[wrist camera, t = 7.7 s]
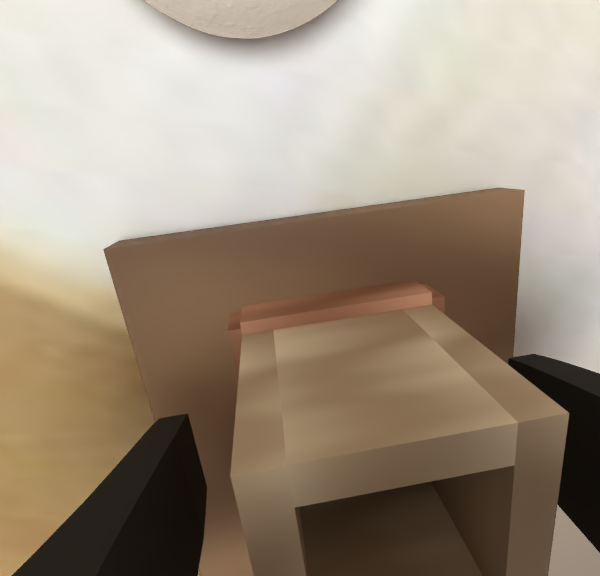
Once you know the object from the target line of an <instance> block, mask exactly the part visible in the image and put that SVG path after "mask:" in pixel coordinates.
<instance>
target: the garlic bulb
mask: <svg viewBox="0 0 600 576" xmlns="http://www.w3.org/2000/svg"><path fill="white" fill-rule="evenodd" d="M145 1H146V2H148V3H149V4H150V5H152V6H153V7H154V8H155V9H157V10H159V11H161V12H162V13H164V14H166V15H168V16H169V17H171V18H173V19H174V20H177V21H178V22H180V23H182V24H184V25H186V26H189V27H190V28H194V29H196V30H200V31H203V32H205V33H209V34H212V35H217V36H221V37H227V38H228V37H230V38H243V39H244V38H245V39H249V38H250V39H251V38H252V39H254V38H255V39H256V38H262V37H267V36H268V37H269V36H271V35H276V34H280V33H283V32H286V31H289V30H291V29H294V28H297V27H299V26H301V25H303V24H305V23H307V22H308V21H310V20H312V19H313V18H315V17H316V16H318V15H320V14H321V13H322V12H324V11H325V10H327V9H328V8H329V7H330V6H332V5H333V4H334V3H335V2H337V0H145Z"/></svg>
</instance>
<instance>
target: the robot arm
mask: <svg viewBox="0 0 600 576" xmlns="http://www.w3.org/2000/svg"><path fill="white" fill-rule="evenodd" d="M508 365H509V366H511V367H512V368H513V369H514V370H516V371H517V372H518V373H519V374H521V375H522V376H523V377H524V378H526V379H527V380H528V381H529V382H531V383H532V384H533V385H535V386H536V387H537V388H538V389H540V390H541V391H542V392H543V393H545V394H546V395H547V396H548V397H550V398H551V399H552V400H554V401H555V402H556V403H557V404H559V405H560V406H561V407H562V408H564V409H565V410H566V411H567V412H569V420H568V427H567V435H566V442H565V450H564V458H563V465H562V473H561V480H560V488H559V495H558V503H557V504H558V505H559V507H560V508H561V509H562V510H563V511H564V512H565V513H566V514H567V516H568V517H569V518H570V519H571V520H572V521H573V523H574V524H575V525H576V526H577V527H578V528H579V529H580V531H581V532H582V533H583V534H584V535H585V536H586V537H587V539H588V540H589V541H590V542H591V543H592V544H593V545H594V547H595V548H596V549H597V550H598V551H599V552H600V374H599V373H596V372H593V371H590V370H587V369H584V368H581V367H578V366H574V365H571V364H568V363H565V362H562V361H558V360H555V359H552V358H548V357H544V356H540V355H536V354H531V355H525V356H519V357H514V358H508ZM206 500H207V484H206V481H205V477H204V473H203V469H202V466H201V462H200V458H199V454H198V450H197V447H196V443H195V439H194V435H193V431H192V428H191V424H190V420H189V416H188V413H187V414H181V415H176V416H170V417H164V418H159V419H158V420H157V421H156V422H155V423H154V424H153V425H152V426H151V427H150V429H149V430H148V431H147V432H146V433H145V434H144V435H143V436H142V438H141V439H140V440H139V441H138V442H137V443H136V444H135V446H134V447H133V448H132V449H131V450H130V451H129V452H128V454H127V455H126V456H125V457H124V458H123V459H122V460H121V462H120V463H119V464H118V465H117V466H116V467H115V468H114V469H113V470H112V472H111V473H110V474H109V475H108V476H107V477H106V478H105V479H104V480H103V482H102V483H101V484H100V485H99V486H98V487H97V488H96V489H95V490H94V492H93V493H92V494H91V495H90V496H89V497H88V498H87V499H86V500H85V501H84V503H83V504H82V505H81V506H80V507H79V508H78V509H77V510H76V511H75V512H74V513H73V514H72V515H71V516H70V517H69V518H68V519H67V520H66V521H65V522H64V523H63V524H62V525H61V526H60V527H59V528H58V529H57V530H56V531H55V533H54V534H53V535H52V536H51V537H50V538H49V539H48V540H47V541H46V542H45V543H44V544H43V545H42V546H41V547H40V548H39V549H38V550H37V551H36V552H35V553H34V554H33V555H32V556H31V557H30V558H29V559H28V560H27V561H26V562H25V563H24V564H23V565H22V566H21V567H20V568H19V569H18V570H17V571H16V572H15V573H14V574H13V575H12V576H197V575H198V569H199V563H200V557H201V552H202V546H203V540H204V529H205V516H206Z"/></svg>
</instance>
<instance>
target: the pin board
mask: <svg viewBox="0 0 600 576" xmlns="http://www.w3.org/2000/svg"><path fill="white" fill-rule="evenodd" d="M524 191H525V190H518V189H507V188H494V189H487V190H480V191H473V192H466V193H459V194H451V195H444V196H437V197H430V198H423V199H416V200H409V201H401V202H394V203H387V204H380V205H373V206H366V207H358V208H351V209H344V210H337V211H330V212H323V213H316V214H308V215H301V216H294V217H287V218H280V219H273V220H265V221H258V222H251V223H244V224H237V225H230V226H223V227H215V228H208V229H201V230H194V231H187V232H180V233H172V234H165V235H158V236H151V237H144V238H137V239H130V240H122V241H118V242H116V243H114V244H112V245H111V246H109V247H107V248H105V249H103V250H104V253H105V256H106V260H107V263H108V266H109V270H110V273H111V276H112V280H113V283H114V286H115V290H116V293H117V296H118V300H119V303H120V306H121V310H122V313H123V316H124V320H125V323H126V326H127V330H128V333H129V336H130V340H131V343H132V346H133V350H134V353H135V356H136V360H137V363H138V366H139V370H140V373H141V376H142V380H143V383H144V386H145V390H146V393H147V396H148V400H149V403H150V406H151V410H152V413H153V416H154V420H155V422H156V421H157V420H158V419H159V418H164V417H170V416H176V415H181V414H187V413H188V416H189V420H190V424H191V428H192V431H193V435H194V439H195V443H196V447H197V450H198V454H199V458H200V462H201V466H202V469H203V473H204V477H205V481H206V484H207V500H206V516H205V529H204V540H203V546H202V552H201V557H200V563H199V570H200V573H201V576H254V574H253V570H252V566H251V561H250V557H249V553H248V549H247V544H246V540H245V536H244V532H243V527H242V523H241V519H240V515H239V511H238V506H237V502H236V498H235V494H234V489H233V485H232V481H231V477H230V473H231V461H232V449H233V438H234V426H235V414H236V402H237V390H238V380H237V375H236V370H235V365H234V360H233V355H232V350H231V346H230V341H229V336H228V325H229V320H230V314H234V313H241V307H242V306H249V305H255V304H261V303H268V302H274V301H281V300H287V299H294V298H300V297H306V296H313V295H319V294H326V293H332V292H339V291H345V290H352V289H358V288H364V287H371V286H377V285H384V284H390V283H397V282H403V281H409V280H416V281H417V282H418V283H420V284H427V285H429V286H430V287H432V288H433V289H435V290H436V291H437V292H439V293H440V294H442V295H443V296H445V315H446V316H447V317H449V318H450V319H451V320H452V321H454V322H455V323H456V324H457V325H459V326H460V327H461V328H462V329H464V330H465V331H466V332H468V333H469V334H470V335H471V336H473V337H474V338H475V339H476V340H478V341H479V342H480V343H481V344H483V345H484V346H485V347H486V348H488V349H489V350H490V351H492V352H493V353H494V354H495V355H497V356H498V357H499V358H500V359H502V360H503V361H504V362H505V363H507V364H508V358H513V347H514V333H515V319H516V305H517V290H518V276H519V262H520V248H521V233H522V219H523V205H524Z"/></svg>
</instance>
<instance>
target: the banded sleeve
mask: <svg viewBox="0 0 600 576" xmlns="http://www.w3.org/2000/svg"><path fill="white" fill-rule="evenodd" d="M228 336H229V341H230V346H231V350H232V355H233V360H234V365H235V370H236V375H237V380H238V390H237V402H236V414H235V426H234V438H233V449H232V461H231V473H230V477H231V481H232V485H233V489H234V494H235V498H236V502H237V506H238V511H239V515H240V519H241V523H242V527H243V532H244V536H245V540H246V544H247V549H248V553H249V557H250V561H251V566H252V570H253V574H254V576H548V571H549V564H550V556H551V548H552V541H553V533H554V525H555V518H556V511H557V503H558V495H559V488H560V480H561V473H562V465H563V458H564V450H565V442H566V435H567V427H568V420H569V412H567V411H566V410H565V409H564V408H562V407H561V406H560V405H559V404H557V403H556V402H555V401H554V400H552V399H551V398H550V397H548V396H547V395H546V394H545V393H543V392H542V391H541V390H540V389H538V388H537V387H536V386H535V385H533V384H532V383H531V382H529V381H528V380H527V379H526V378H524V377H523V376H522V375H521V374H519V373H518V372H517V371H516V370H514V369H513V368H512V367H511V366H509V365H508V364H507V363H505V362H504V361H503V360H502V359H500V358H499V357H498V356H497V355H495V354H494V353H493V352H492V351H490V350H489V349H488V348H486V347H485V346H484V345H483V344H481V343H480V342H479V341H478V340H476V339H475V338H474V337H473V336H471V335H470V334H469V333H468V332H466V331H465V330H464V329H462V328H461V327H460V326H459V325H457V324H456V323H455V322H454V321H452V320H451V319H450V318H449V317H447V316H446V315H445V296H443V295H442V294H440V293H439V292H437V291H436V290H435V289H433V288H432V287H430V286H429V285H427V284H420V283H418V282H417V281H416V280H409V281H403V282H397V283H390V284H384V285H377V286H371V287H364V288H358V289H352V290H345V291H339V292H332V293H326V294H319V295H313V296H306V297H300V298H294V299H287V300H281V301H274V302H268V303H261V304H255V305H249V306H242V307H241V313H234V314H230V320H229V325H228Z"/></svg>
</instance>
